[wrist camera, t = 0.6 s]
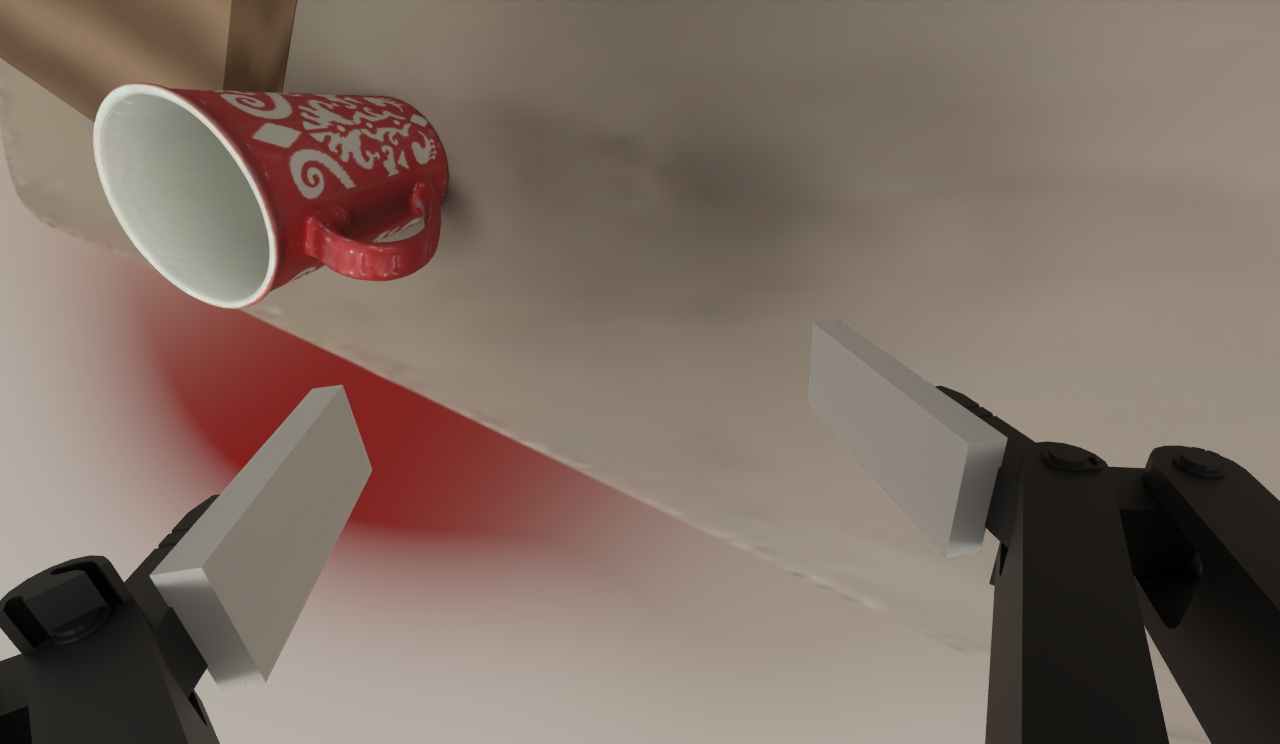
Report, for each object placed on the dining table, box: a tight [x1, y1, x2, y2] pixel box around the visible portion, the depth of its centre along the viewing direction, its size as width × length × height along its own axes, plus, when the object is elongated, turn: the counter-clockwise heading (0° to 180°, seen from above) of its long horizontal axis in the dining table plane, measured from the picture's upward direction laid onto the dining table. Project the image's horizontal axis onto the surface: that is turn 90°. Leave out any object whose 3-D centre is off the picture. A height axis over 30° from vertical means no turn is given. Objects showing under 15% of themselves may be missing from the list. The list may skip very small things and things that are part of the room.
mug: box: [93, 82, 448, 309], centre depth 28 cm, size 13×9×14 cm
